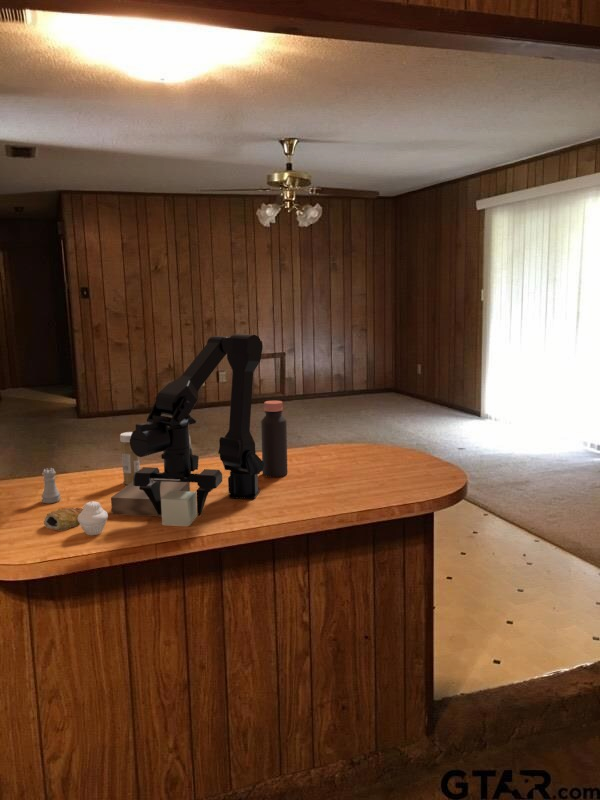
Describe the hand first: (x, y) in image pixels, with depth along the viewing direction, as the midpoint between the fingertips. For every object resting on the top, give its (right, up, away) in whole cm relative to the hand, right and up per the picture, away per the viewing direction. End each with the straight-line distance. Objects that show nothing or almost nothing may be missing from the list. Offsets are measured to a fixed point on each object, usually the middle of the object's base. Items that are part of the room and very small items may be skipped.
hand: (179, 514), depth 150 cm
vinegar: (+20, +5, +34) cm, 40 cm away
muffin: (-17, -3, -6) cm, 18 cm away
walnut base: (-8, +1, +11) cm, 14 cm away
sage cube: (0, -1, 0) cm, 1 cm away
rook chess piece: (-34, +1, +15) cm, 37 cm away
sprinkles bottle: (-18, +3, +28) cm, 33 cm away
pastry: (-25, -2, 0) cm, 25 cm away
